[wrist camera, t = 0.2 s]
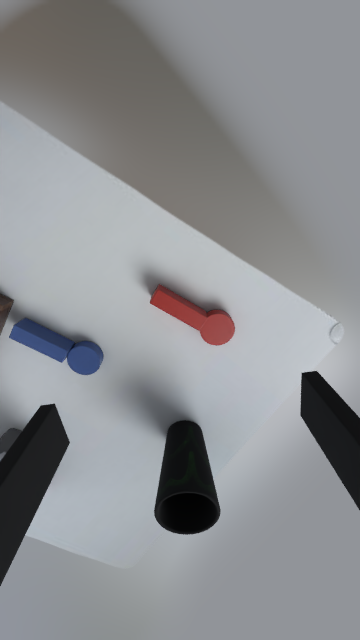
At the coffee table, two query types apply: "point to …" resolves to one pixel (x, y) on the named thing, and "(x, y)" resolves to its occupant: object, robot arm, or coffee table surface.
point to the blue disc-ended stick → (58, 346)
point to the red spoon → (195, 316)
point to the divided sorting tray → (4, 309)
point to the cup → (186, 482)
